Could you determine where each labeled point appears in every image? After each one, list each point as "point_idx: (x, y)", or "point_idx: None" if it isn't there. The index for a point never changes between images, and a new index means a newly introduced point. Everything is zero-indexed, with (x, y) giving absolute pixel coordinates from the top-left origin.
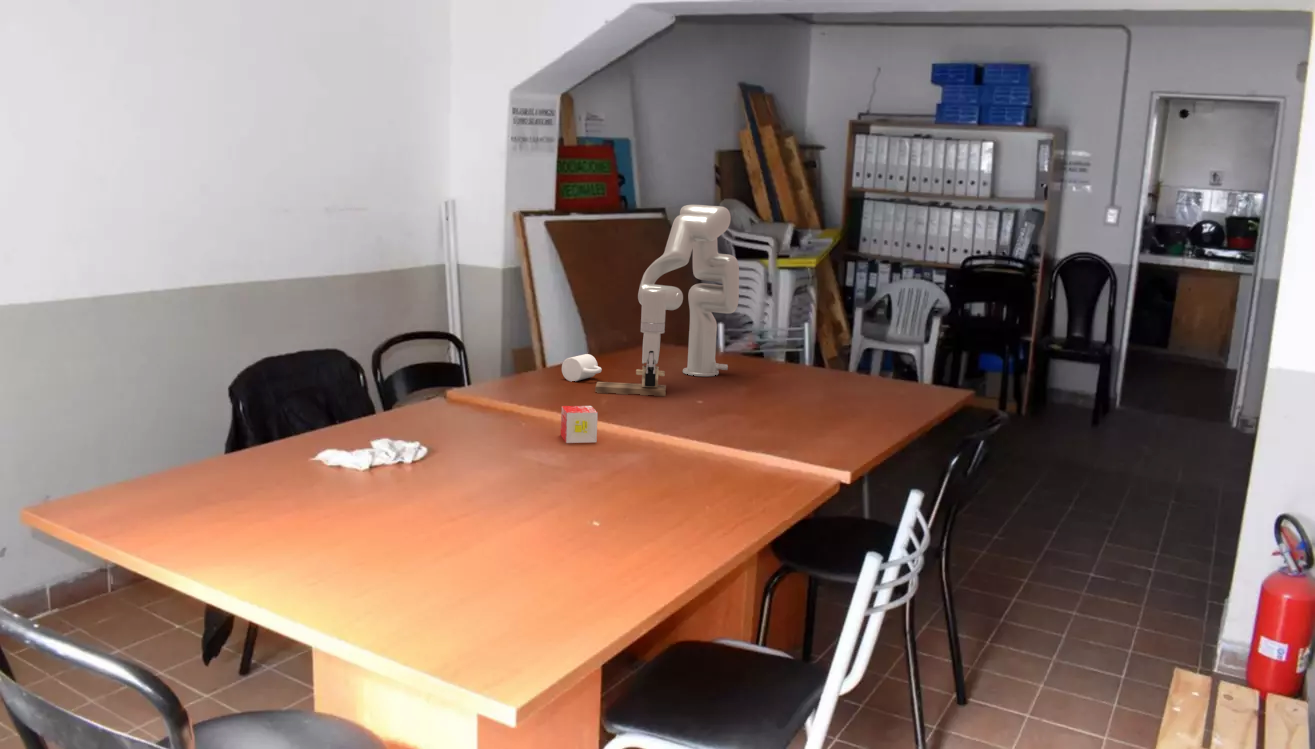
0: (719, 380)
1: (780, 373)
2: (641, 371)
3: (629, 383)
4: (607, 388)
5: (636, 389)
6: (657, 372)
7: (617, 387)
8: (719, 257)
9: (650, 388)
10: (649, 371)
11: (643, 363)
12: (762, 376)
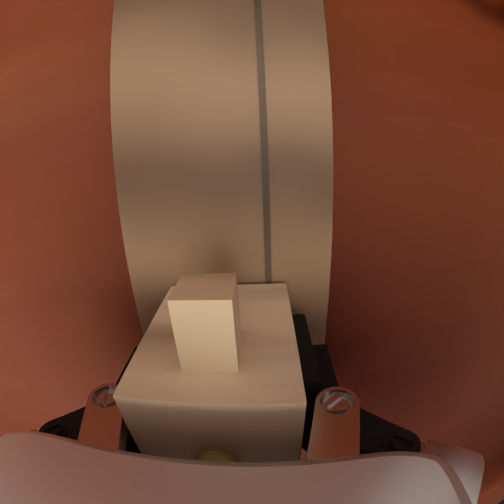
0: (484, 456)
1: (501, 487)
2: (182, 353)
3: (325, 171)
4: (117, 27)
5: (127, 244)
6: None
7: (118, 93)
8: None
9: None
10: (76, 422)
11: (10, 434)
12: (490, 484)
